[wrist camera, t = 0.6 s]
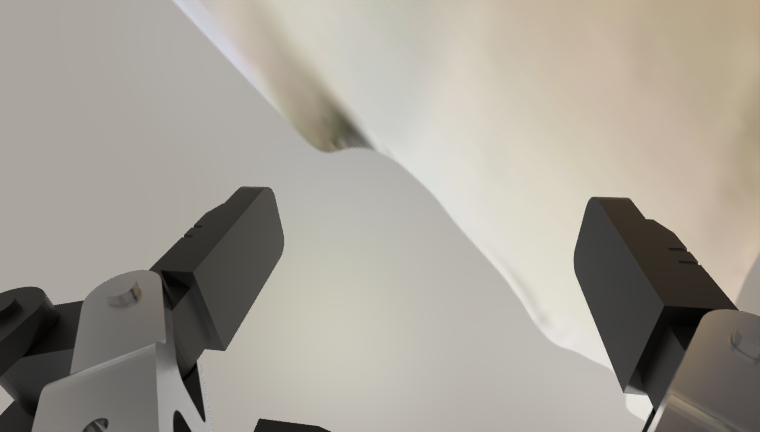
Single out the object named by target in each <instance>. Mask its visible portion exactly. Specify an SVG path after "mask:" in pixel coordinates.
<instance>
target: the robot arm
mask: <svg viewBox="0 0 760 432" xmlns="http://www.w3.org/2000/svg"><path fill="white" fill-rule="evenodd" d="M283 247H284V235H283V230H282V226H281V221H280V217H279V213H278V209H277V204H276V199H275V195H274V193H273V191H272V189H271V188H269V187H240V188H239V189H238V190H237V191H236V192H235V193H234V194H233V195H232V196H231V197H230V198H229V199H228V200H227V201H226V202H225V203H224V204H221V205H220V206H218V207H216V208H214V209H213V210H211V211H209V212H207V213H206V214H205V215H204V216H203V217H202V218H201V219H200V220H199V221H198V222H197V223H196V224H195V225H194V228H191V229H190V230H189V231H188V232H187V233H186V234H185V235H184V237H182V238H181V239H180V240H179V241H178V242H177V243H176V244H175V245H174V246H173V247H172V248H171V249H170V250H169V251H168V252H167V253H166V254H165V255H164V256H162V258H160V260H158V262H156V263H155V264H154V266H152V267H151V269H149V270H138V271H131V272H127V273H124V274H121V275H118V276H116V277H114V278H111V279H109V280H107V281H106V282H104V283H102V284H101V285H99V286H98V287H96V288H95V289H94V290H93V291H92V292H91V293H90V294H89V295H88V296H87V297H86V298H85V300H84V301H78V302H72V303H65V304H59V305H53V304H52V303H51V301H50V300H49V298H48V297H47V295H46V294H45V293H44V291H43V290H42V289H40V288H37V287H22V288H17V289H12V290H9V291H6V292H3V293H0V385H1V386H2V387H3V388H4V389H5V390H6V391H7V392H8V394H9V395H10V396H11V397H12V398H13V399H14V401H13V403H12V404H11V405H10V406H9V407H8V408H7V409H6V410H5V411H4V412H3V413H2V414H1V415H0V432H213V429H212V423H211V417H210V411H209V405H208V400H207V393H206V388H205V382H204V376H203V370H202V365H201V363H200V360H199V357H200V355H201V354H202V352H203V351H204V349H210V350H220V351H225V350H226V349H227V347H228V345H229V343H230V342H231V340H232V338H233V337H234V335H235V333H236V332H237V330H238V328H239V327H240V325H241V323H242V321H243V320H244V318H245V316H246V315H247V313H248V311H249V310H250V308H251V306H252V305H253V303H254V301H255V300H256V298H257V296H258V294H259V293H260V291H261V289H262V288H263V286H264V284H265V283H266V281H267V279H268V278H269V276H270V274H271V273H272V271H273V269H274V267H275V266H276V264H277V262H278V260H279V259H280V257H281V255H282V252H283ZM574 270H575V274H576V277H577V279H578V282H579V284H580V287H581V289H582V292H583V294H584V297H585V299H586V301H587V304H588V306H589V309H590V311H591V314H592V316H593V319H594V321H595V324H596V326H597V329H598V331H599V334H600V336H601V339H602V341H603V344H604V346H605V349H606V351H607V354H608V356H609V358H610V361H611V363H612V366H613V368H614V371H615V373H616V376H617V378H618V381H619V383H620V386H621V388H622V391H623V393H628V394H638V395H648V397H649V399H650V401H651V403H652V405H653V408H652V409H651V411H650V413H649V415H648V417H647V419H646V421H645V423H644V425H643V427H642V430H641V432H760V316H757V315H755V314H751V313H747V312H743V311H739V310H738V309H737V308H736V306H735V305H734V304H733V303H732V302H731V300H730V299H729V298H728V297H727V296H726V294H725V293H724V292H723V291H722V290H721V288H720V287H719V286H718V285H717V284H716V283H715V281H714V280H713V279H712V278H711V277H710V275H709V274H708V273H707V272H706V271H705V269H704V268H703V267H702V266H701V265H698V261H697V260H696V259H695V257H694V256H693V255H692V254H691V253H690V252H687V248H686V247H685V246H684V244H683V243H682V242H681V241H680V240H679V238H678V237H677V236H676V235H675V234H674V233H673V232H672V231H670V230H668V229H667V228H665V227H664V226H662V225H661V224H659V223H657V222H656V221H654V220H650V219H645V217H644V216H643V215H642V214H641V212H640V211H639V210H638V208H637V207H636V206H635V205H634V203H633V202H632V201H631V200H630V199H629V198H618V197H592V198H591V199H590V200H589V201H588V203H587V206H586V210H585V213H584V217H583V221H582V225H581V228H580V232H579V236H578V240H577V243H576V247H575V251H574ZM254 432H331V431H328V430H326V429H323V428H321V427H319V426H313V425H305V424H297V423H290V422H282V421H273V420H266V419H259V420H258V423H257V425H256V427H255V430H254Z"/></svg>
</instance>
